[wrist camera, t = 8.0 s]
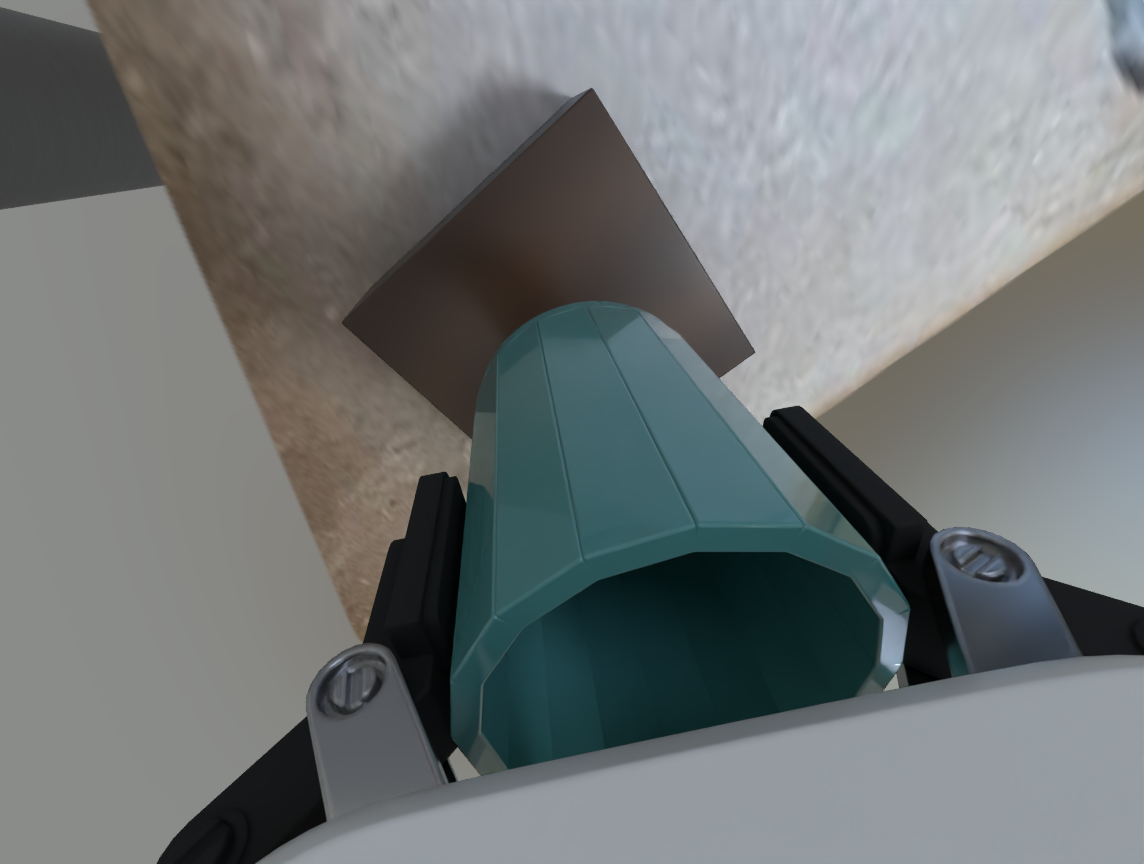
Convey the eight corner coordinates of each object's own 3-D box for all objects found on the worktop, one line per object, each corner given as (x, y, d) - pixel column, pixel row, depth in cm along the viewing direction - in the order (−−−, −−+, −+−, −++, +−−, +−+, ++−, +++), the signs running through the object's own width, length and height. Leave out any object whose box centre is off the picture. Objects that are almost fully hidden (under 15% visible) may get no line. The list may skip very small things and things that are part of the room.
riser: (369, 288, 23) (340, 322, 19) (572, 96, 20) (592, 86, 16) (537, 449, 29) (544, 504, 24) (713, 316, 26) (756, 352, 22)
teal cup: (427, 402, 14) (340, 718, 6) (615, 246, 13) (794, 416, 5) (571, 530, 17) (627, 845, 10) (736, 417, 16) (960, 685, 8)
